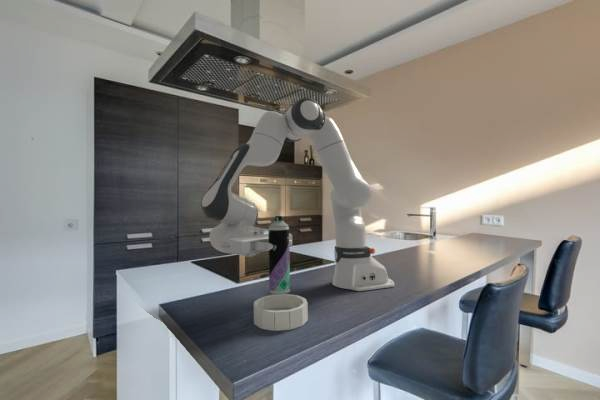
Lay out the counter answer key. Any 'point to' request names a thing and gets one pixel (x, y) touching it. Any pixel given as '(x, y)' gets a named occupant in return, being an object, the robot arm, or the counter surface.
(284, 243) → the spray can
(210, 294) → the counter surface
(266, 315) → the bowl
